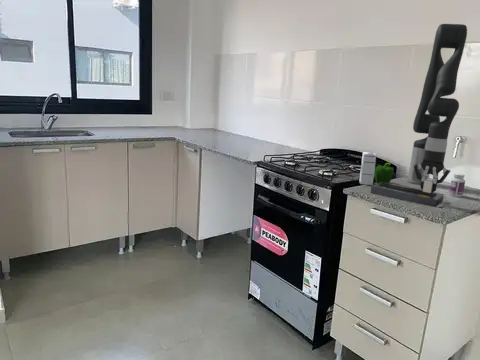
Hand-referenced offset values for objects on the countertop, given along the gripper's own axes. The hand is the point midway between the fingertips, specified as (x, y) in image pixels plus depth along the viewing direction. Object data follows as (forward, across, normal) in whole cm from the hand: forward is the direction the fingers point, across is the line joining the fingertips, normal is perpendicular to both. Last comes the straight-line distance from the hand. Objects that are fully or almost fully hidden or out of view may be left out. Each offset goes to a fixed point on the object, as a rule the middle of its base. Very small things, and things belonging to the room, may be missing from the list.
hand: (427, 191), depth 159 cm
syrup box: (+5, +29, -9) cm, 31 cm away
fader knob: (+1, 0, 0) cm, 1 cm away
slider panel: (+4, +8, 0) cm, 9 cm away
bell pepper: (+5, +24, -17) cm, 30 cm away
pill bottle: (+5, -7, -21) cm, 23 cm away
